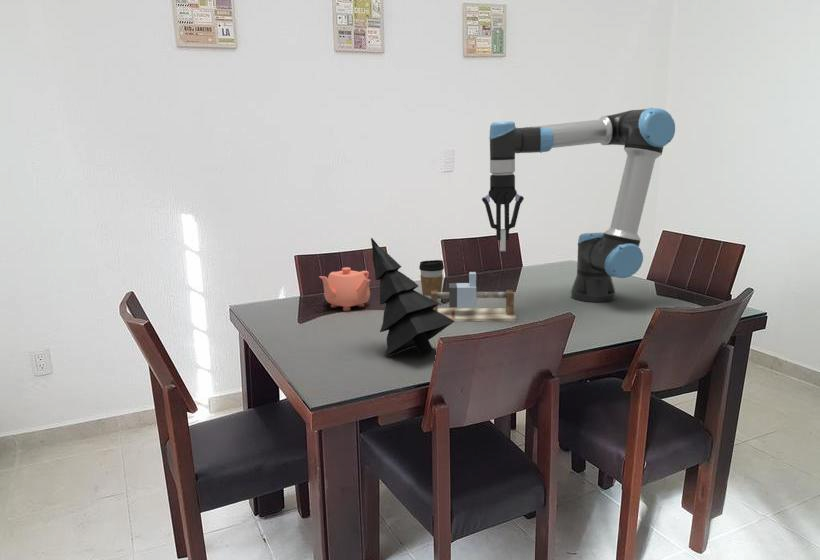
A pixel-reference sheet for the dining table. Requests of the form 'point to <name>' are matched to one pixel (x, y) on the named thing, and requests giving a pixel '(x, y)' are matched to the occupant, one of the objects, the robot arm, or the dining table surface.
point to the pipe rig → (479, 313)
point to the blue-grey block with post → (467, 292)
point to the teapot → (347, 288)
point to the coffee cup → (431, 277)
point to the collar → (452, 295)
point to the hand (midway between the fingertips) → (502, 250)
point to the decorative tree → (405, 308)
